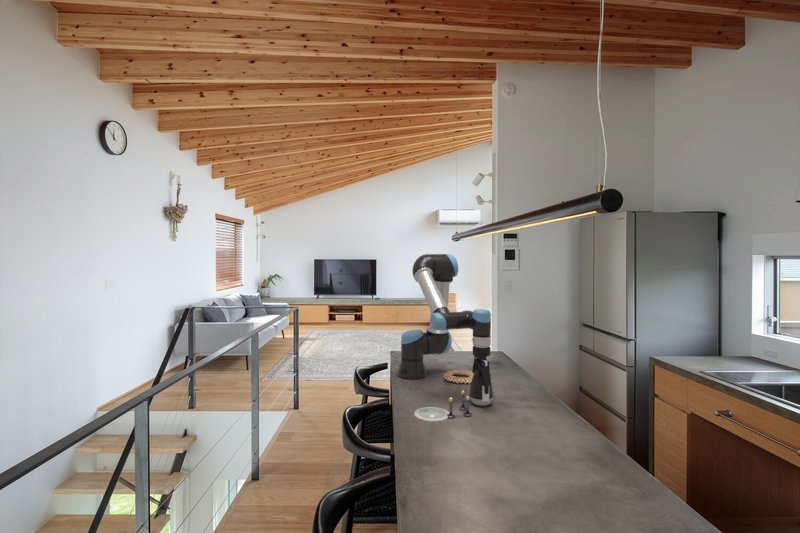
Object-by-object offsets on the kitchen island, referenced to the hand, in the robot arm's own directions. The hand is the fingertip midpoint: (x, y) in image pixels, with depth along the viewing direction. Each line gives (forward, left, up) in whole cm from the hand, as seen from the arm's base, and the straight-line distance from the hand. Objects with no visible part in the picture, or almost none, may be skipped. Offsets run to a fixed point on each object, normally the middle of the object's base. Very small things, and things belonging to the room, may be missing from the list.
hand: (481, 395), depth 181 cm
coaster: (+10, -23, -4) cm, 25 cm away
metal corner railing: (+9, -12, -4) cm, 16 cm away
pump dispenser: (0, 0, -4) cm, 4 cm away
